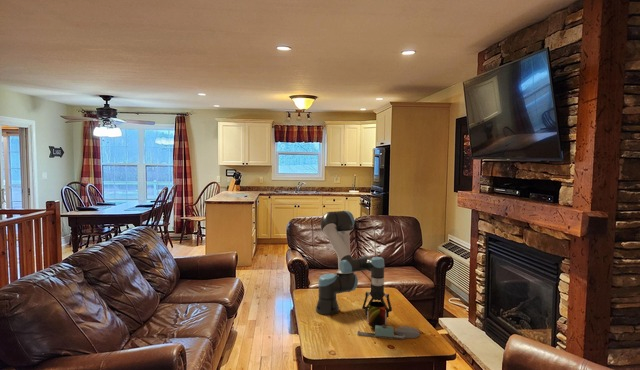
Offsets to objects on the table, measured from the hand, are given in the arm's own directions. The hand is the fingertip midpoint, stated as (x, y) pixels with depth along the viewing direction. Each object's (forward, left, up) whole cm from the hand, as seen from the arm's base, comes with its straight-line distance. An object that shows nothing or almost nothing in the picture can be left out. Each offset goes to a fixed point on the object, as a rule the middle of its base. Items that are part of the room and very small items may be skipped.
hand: (376, 321), depth 220 cm
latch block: (+11, +5, -2) cm, 13 cm away
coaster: (+3, +17, -4) cm, 18 cm away
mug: (-1, -1, -2) cm, 2 cm away
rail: (+11, +3, -4) cm, 12 cm away
